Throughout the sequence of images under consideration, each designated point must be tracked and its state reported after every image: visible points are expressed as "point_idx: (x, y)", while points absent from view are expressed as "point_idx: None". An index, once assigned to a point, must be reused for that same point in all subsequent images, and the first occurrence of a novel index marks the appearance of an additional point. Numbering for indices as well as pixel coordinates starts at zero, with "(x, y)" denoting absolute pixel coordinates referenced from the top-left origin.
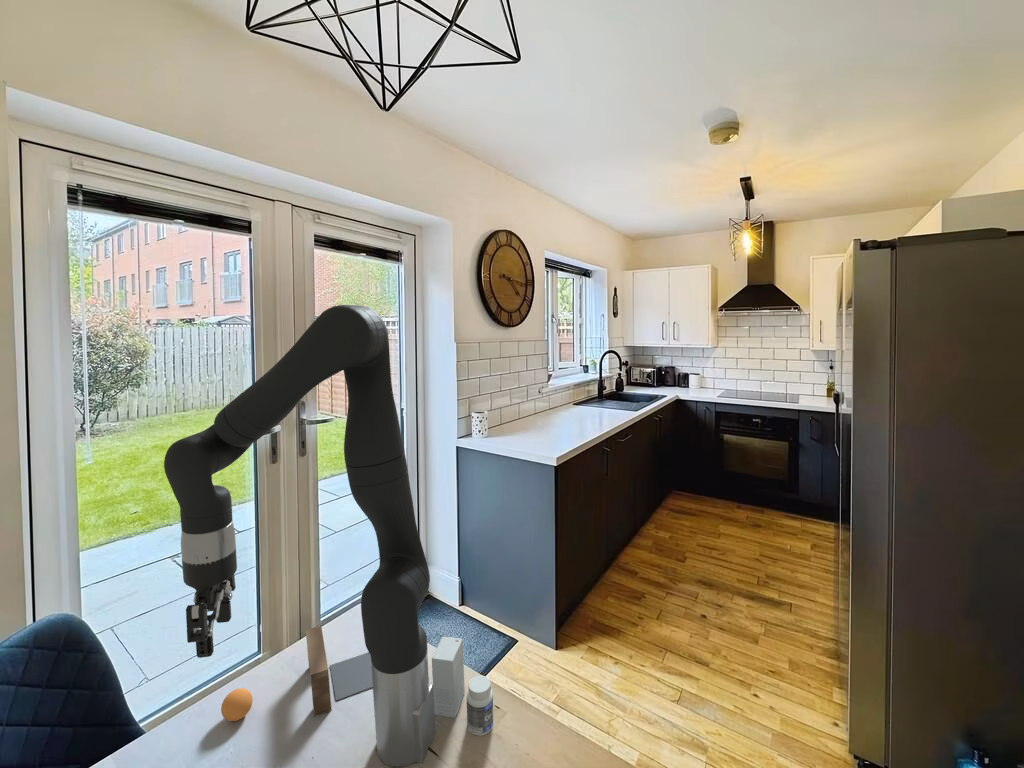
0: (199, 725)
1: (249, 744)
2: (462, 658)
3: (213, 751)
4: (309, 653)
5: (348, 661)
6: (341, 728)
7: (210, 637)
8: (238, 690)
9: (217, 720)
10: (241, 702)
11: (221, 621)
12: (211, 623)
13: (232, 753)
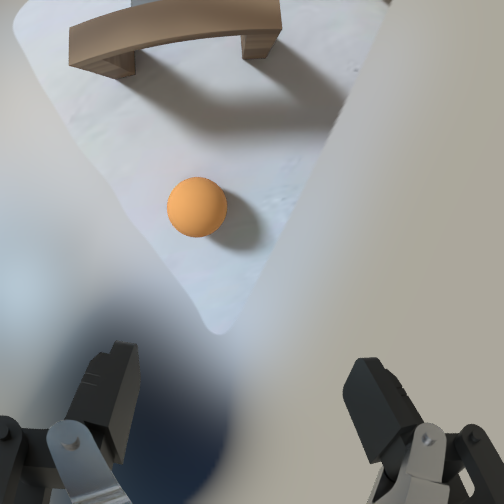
0: (196, 261)
1: (280, 170)
2: None
3: (267, 228)
4: (180, 33)
5: (138, 3)
6: (315, 20)
7: (413, 418)
8: (187, 211)
9: None
10: (215, 198)
11: (137, 371)
12: (441, 472)
13: (286, 197)
